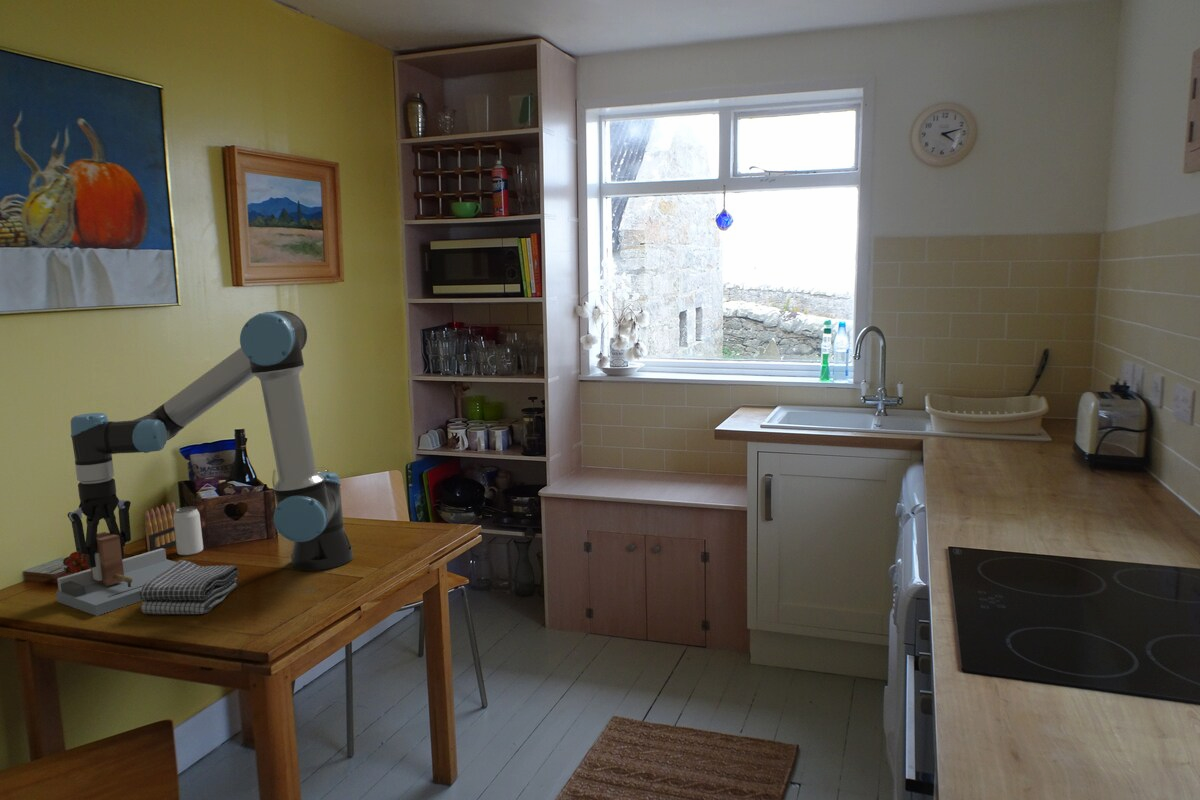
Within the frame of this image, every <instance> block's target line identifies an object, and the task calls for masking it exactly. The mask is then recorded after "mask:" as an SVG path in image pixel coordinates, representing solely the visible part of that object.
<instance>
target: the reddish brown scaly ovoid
mask: <svg viewBox="0 0 1200 800" xmlns="http://www.w3.org/2000/svg"><path fill="white" fill-rule="evenodd" d="M62 563H63V566H66V567H63V570H64V572H65V573H66V574H71V573H73V574H75V573H76V572H77V573H78V572H82V571H85V570H88V569H91V567H89V566H88V564H87V556H86V554H82V553H79V552H77V551H74V552H71V553H70V555H69V556H67V557H65V558H64V559H63V561H62Z"/></svg>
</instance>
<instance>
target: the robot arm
mask: <svg viewBox="0 0 1200 800" xmlns="http://www.w3.org/2000/svg"><path fill="white" fill-rule="evenodd" d="M307 339H308V329H307V328H306V325H305V323H304V321H303V320H302V319H301V317H299V316H298V315H297V314H295V313H293V312H290V311H287V310H275V311H265V312H262V313H261V312H260V313H258V314H256V315H254V316H252V317H250V318H249V319H248V320H247V321H246V322H245V323H244V325H243V327H242V329H241V331H240V336H239V343H240V347H239V348H238V349H236V350H235V351H234V352H233V353H231V354H230V355H228V356H227V357H226V358H225V359H223V360H221V361H220V362H219V363H216V365H215V366H214V367H212V368H210V369H209V370H208V371H207V372H205V373H204V374H202V375H201V376H200V377H198V378H196V380H194V381H193V382H192V383H190V384H188V385H187V386H186V387H185V388H183V389H181V390H180V391H179V392H177V393H176V394H175V395H173V396H172V397H171V398H169V399H168V400H167V401H165V402H164V403H163V404H161V405H160V406H158V407H157V408H156V409H154V410H153V411H152V412H150V413H148V414H146V415H143V416H141V417H138V418H135V419H132V420H122V421H121V420H120V421H109V419H108V414H106V413H105V412H90V413H82V414H78V415H77V414H76V415H74V416H73V417H72V418H71V420H70V438H71V441H72V448H73V454H74V455H73V456H74V466H75V473H76V479H77V481H78V482H79V483H78V484H77V489H78V497H79V500H80V501H79V505H78V508H77V509H76V510H73V512H72V511H70V512H68V513H67V516H66V517H68V519H69V521H70V522H71V527H72V528H71V529H72V533H73V538H74V544H75V545H74V546H75V549H76V550H75V552H79V553H82V554H86V556H87V564H88V566H89V567H91V568H92V572H93V579H95V580H98V581H101V580H102V573H101V565H100V557H99V553H97V552H95V550H96V539H97V534H98V526H99V525H100V520H104V521H105V524H106V526H107V529H108V533H111V534H114V535H118V536H119V537H120V545H121V554H122V560H123V559H125V551H124V547H125V546H126V543H129V542H131V540H132V536H131V535H132V533H131V524H130V523H131V521H130V512H129V511H130V506H131V503H132V502H131V500H126V499H119V497H118V496H117V487H116V486H117V485H116V480H115V479H114V478H113V477H114V476H115V471H114V463H113V455H117V454H133V453H139V454H140V453H143V454H149V453H152V452H159V451H162V450H163V449H164V448H165V445H166V444H167V441H170V440H171V439H173V438H175V436H176V435H177V434H179V432H180V431H182V430H183V429H184V428H185V427H187V426H188V425H190V424H192V422H194V421H195V420H196V419H198V418H200V417H201V416H202V415H203V414H204V413H206V412H207V411H208V410H210V409H212V408H213V407H215V406H216V405H217V404H219V403H220V402H221V401H222V400H224V399H225V398H227V397H228V396H230V395H231V394H233V393H234V392H235V391H237V390H238V389H240V388H241V387H242V386H243V385H245V384H246V383H248V382H249V381H250V380H252V379H253V378H254V377H256V378H257V379H258V380H259V381H260V384H261V392H262V397H263V401H264V406H265V412H266V417H267V423H268V428H269V434H270V440H271V445H272V449H273V456H274V460H275V467H276V470H277V476H278V480H277V482H276V483H275V484H274V486H273V491H274V497H275V502H276V503H275V505H276V507H275V508H274V513H273V524H274V526H275V529H276V530H277V532H278V533H279V534H280V535H281V536H282V537H283V538H284V539H285V538H286V539H287V540H289V541H292V542H294V544H293V549H292V553H291V556H290V557H291V558H290V559H291V566H292V567H293V568H294V569H296V570H299V571H300V570H301V571H317V570H318V571H319V570H320V571H321V570H329V569H332V568H337V567H339V566H342V565H345V564H347V563H349V562H350V561H351V560H353V558H354V553H353V547H352V545H351V542H350V540H349V537H348V536H347V535H348V534H347V533H346V531H345V528H344V517H343V505H342V494H341V493H342V491H341V485H342V484H341V482H340V481H341V480H340V476H339V475H338V474H337V473H336V472H327V471H326V472H317V467H316V463H315V462H316V461H315V457H314V451H313V446H312V440H311V436H310V435H311V434H310V429H309V424H308V418H307V412H306V409H305V408H306V407H305V401H304V400H305V399H304V396H303V390H302V386H301V379H300V373H301V372H302V370H303V368H304V367H305V364H304V357H303V351H302V350H303V349H304V348H305V346H306V343H307ZM117 508H118V522H119V524H118V523H117V520H116V519H117V517H116V514H115V510H116V509H117ZM83 515H84V516H86V519H85V523H86V532H85V531H84V526H83V525H84V524H83V521H82V519H83ZM118 525H119V526H118ZM85 533H86V534H85Z"/></svg>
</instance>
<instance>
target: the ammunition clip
mask: <svg viewBox="0 0 1200 800" xmlns="http://www.w3.org/2000/svg"><path fill="white" fill-rule="evenodd" d="M176 509H177V508H176V504H175V502H174V501H172V502H171V505H170V504H169V503H166V505H165V507H164V505H163V504H162V505H160V508H159V507H158V506H156V508H155V511H154V509H153V507H152V508H151V509H150V512H149V510H148V509H145V513H144V522H145V523H144V528H145V535H144V541H145V553H147V552H150V551H154V550H157V549H161V548H163V549H165V550H166V549H168V548H170V547H172V546H176V538H175V529H174V520H173V516H174V513H175V512H174V510H176Z"/></svg>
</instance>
